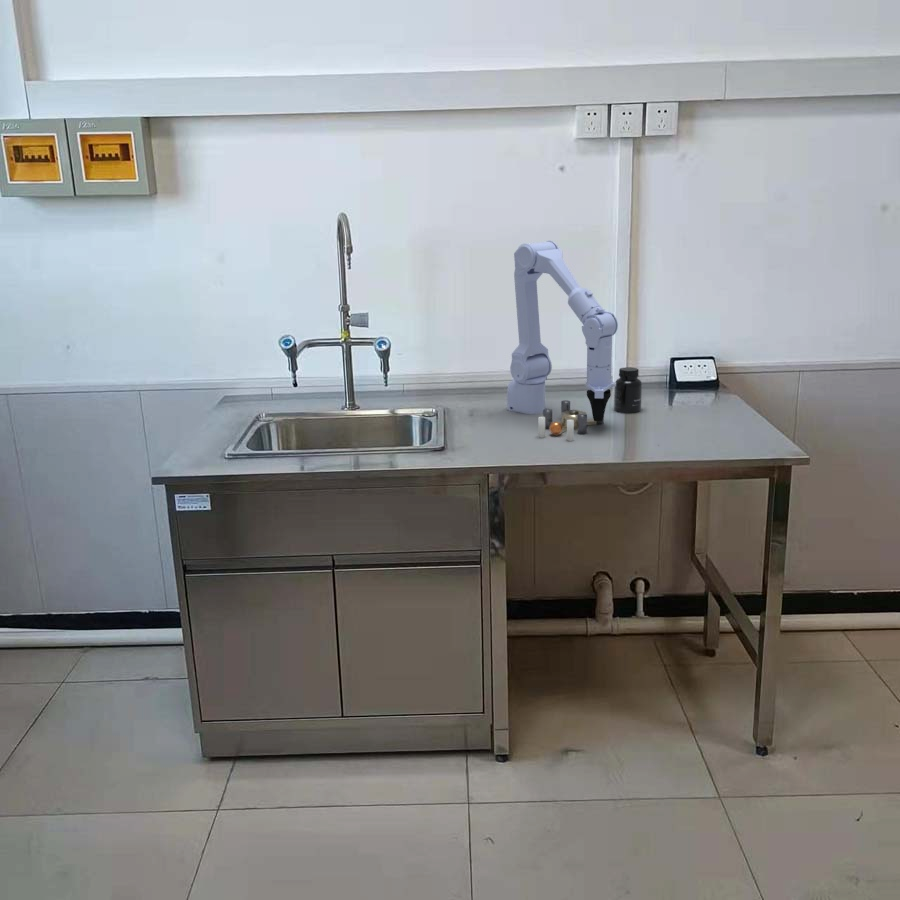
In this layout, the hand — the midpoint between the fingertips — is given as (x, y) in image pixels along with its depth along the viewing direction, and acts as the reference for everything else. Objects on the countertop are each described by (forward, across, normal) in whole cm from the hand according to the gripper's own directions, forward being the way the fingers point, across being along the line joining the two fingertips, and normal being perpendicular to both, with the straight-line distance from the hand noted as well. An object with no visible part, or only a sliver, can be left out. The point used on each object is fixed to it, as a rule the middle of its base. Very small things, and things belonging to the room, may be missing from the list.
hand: (598, 420), depth 212 cm
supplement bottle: (+3, +16, -8) cm, 18 cm away
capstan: (+2, +1, +6) cm, 6 cm away
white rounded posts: (+2, -8, +9) cm, 12 cm away
